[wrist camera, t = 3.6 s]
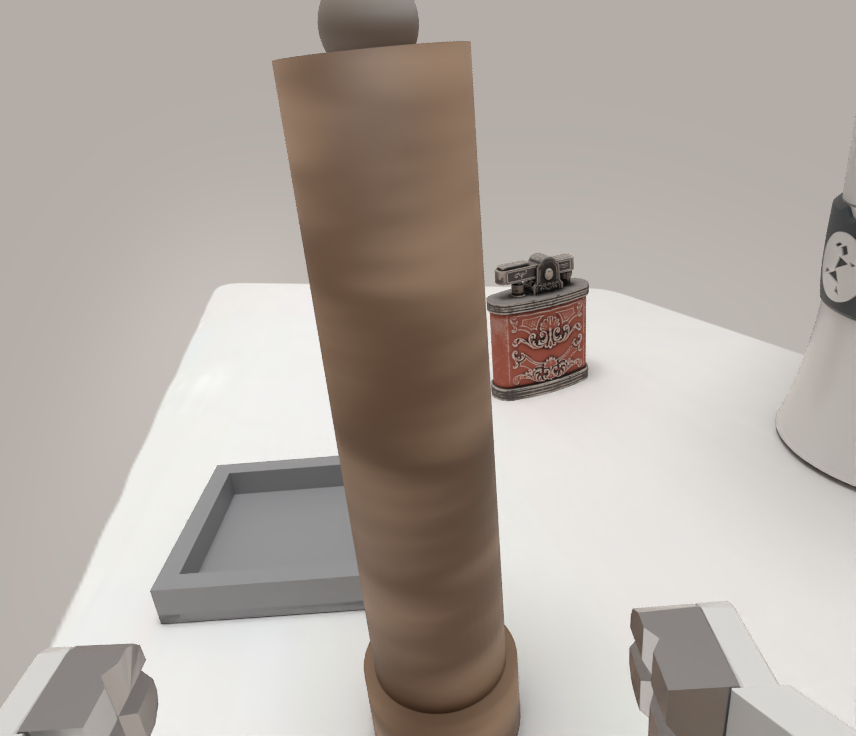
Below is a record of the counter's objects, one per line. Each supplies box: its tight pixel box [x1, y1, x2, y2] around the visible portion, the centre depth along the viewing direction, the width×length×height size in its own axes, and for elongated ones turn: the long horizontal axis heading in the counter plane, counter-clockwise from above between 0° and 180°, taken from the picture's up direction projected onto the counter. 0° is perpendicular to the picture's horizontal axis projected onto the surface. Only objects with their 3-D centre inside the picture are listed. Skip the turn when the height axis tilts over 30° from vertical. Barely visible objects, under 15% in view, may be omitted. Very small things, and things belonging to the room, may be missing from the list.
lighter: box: [487, 253, 589, 401], centre depth 49 cm, size 8×3×10 cm, turn 114°
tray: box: [150, 456, 365, 624], centre depth 35 cm, size 11×11×2 cm
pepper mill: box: [272, 0, 520, 736], centre depth 20 cm, size 6×6×25 cm
